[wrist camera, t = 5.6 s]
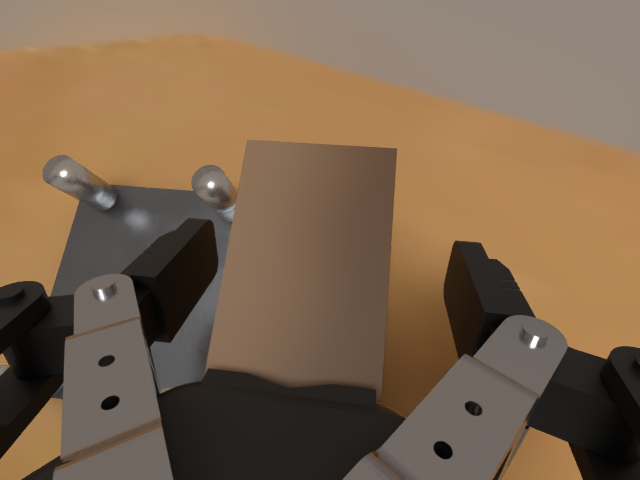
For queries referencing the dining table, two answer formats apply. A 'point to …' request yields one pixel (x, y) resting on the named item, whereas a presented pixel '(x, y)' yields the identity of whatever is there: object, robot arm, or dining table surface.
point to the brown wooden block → (308, 266)
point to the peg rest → (143, 248)
